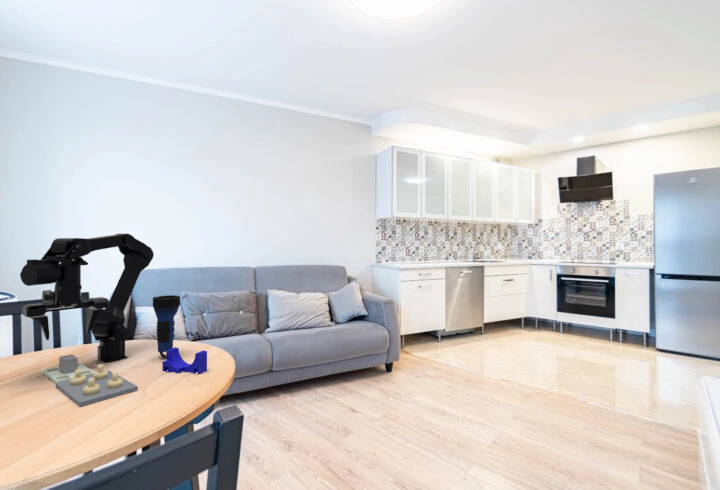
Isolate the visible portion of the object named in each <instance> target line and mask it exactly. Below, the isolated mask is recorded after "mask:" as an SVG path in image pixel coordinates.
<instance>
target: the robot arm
mask: <svg viewBox="0 0 720 490" xmlns="http://www.w3.org/2000/svg"><path fill="white" fill-rule="evenodd" d="M111 248H118V252H120V253H121V254H122V255H123V256H124V257H123V266H124V268H123V271H122V273H121V275H120V277H119V279H118V280H117V284H116V286H115V288H114V289H113V291H112V295H111V297H110V299H108V298H107V297H102V296H97V297H88V299H87V300H85V301H83V300H82V294H81V293H82V288H83V287H82V281H81V280H82V277H81V273H82V270H81V268H82V267H81V266H88V265H89V263H88V262H87V261H86V260H85V259H83V257H84V256H88V255H89V254H90V253H92V252H95V251H99V250H105V249H111ZM154 256H155V255H154V252H153V249H152V248H151V247H150V246H149V245H147V244H146V243H144V242H142V241H140V240H139V239H137V238H135V237H134V236H133V235H131V234H130V233H116V234H112V235H103V236H98V237H89V238H79V237H78V238H77V237H64V238H63V237H62V238H61V237H59V238H55V239H53V240H52V242H51V245H50V247H49V248H48V250H47V251H46V252H45V253H44V255H43V256H42V258H41V259H26V264H25V265H24V266H23V267H22V269H21V271H20V273H19V276H20V280H21V281H22V283H23V285H25V286H27V287H31V286H41V285H51V284H54V290H53V291H52V290H51V289H48V290H43V291H42V292H41V293H42V295H41V300H42V302H37V303H29V304H24V305H23V306H22V309H21V311H22V313H21V315H22V316H24V317H25V318H29V319H31V320H35V321H36V322H37V324H38V325H39V326H40V329H41V331H42V334H43V336H44V338H45V340H46V341H49V340H50V327H49V316H48V315H46V313H47V312H48V313H50V312H59V311H67V310H74V309H75V310H76V309H82V308H83V309H84V308H85V309H86V314H87V316H86V325H85V326H86V327H85V330H86V331H85V332H86V334H88V335H89V334H90V333H92V336H93V337H94V340H95V342H96V341H97V342H99V345H97V360H98V361H100V362H103V363H110V362H113V361H119V360H123V359H127V358H128V356H127V355H126V340H129V339H130V336H131V331H130V330H129V329H127V327H126V326H125V322H126V317H125V310H126V307H127V304H128V302H129V299H130V297H131V296H132V293H133V291H134V289H135V286H136V283H137V282H138V279H139V276H140V274H141V272H142V271H144V270H145V269H146V268H147V267H148V266H150V263H151V262H152V260H153V258H154ZM45 303H50V304H47V305H46V304H45ZM90 331H91V332H90Z"/></svg>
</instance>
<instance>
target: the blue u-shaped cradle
mask: <svg viewBox="0 0 720 490" xmlns="http://www.w3.org/2000/svg"><path fill="white" fill-rule="evenodd" d="M179 350H180V349H179V347H175V346H173V348H171V349H168V350H167V352H166V355H167V358H166V360H164V361H162V368H161V369H162V372H163V371H167V370H168V371H167V372H166V373H171V372H175V373H174V374H178V373H179V374H181V373H183V372H182V371H185V372H184V373H187V372H191V373H190V374H194V373H196V372H198V373H197V374H196V375H200V374H203V373H205V372H207V371H208V351H207V350H200V351H199V352H196V353H195V354H194V355H195V356H194V359H193V361H192V363H187V362H186V361H185V360H184V359H183V357H181V354H180V351H179ZM180 372H181V373H180Z"/></svg>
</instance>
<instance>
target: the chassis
mask: <svg viewBox="0 0 720 490" xmlns="http://www.w3.org/2000/svg"><path fill="white" fill-rule="evenodd" d="M55 388H56V389H58V390H59V391H60V392H61V393H63V395H64V396H66V397H67V398H69V399H70V400H71V401H72V402H74V404H76V405H77V406H79V408H82V407H84V406H89V405H92V404H94V403H95V404H96V403H99V402H102V401H105V400H108V399H113V398H115V397H116V398H117V397H120V396H124V395H125V394H126V395H127V394H130V393H134V392H137V391H138V390H139V389H138V388H139V386H138V385H136V384H135V383H132V382H130V381H128V379H125V378H123V377H121V376H119V372H118V371H114V372H112V371H111V370H106V369H104V363H101V364H98V365H97V371H94V373H93V375H89V376H85V375H81V369H77V370H75V377H72V378H70V380H68V381H64V382H59V383H55Z"/></svg>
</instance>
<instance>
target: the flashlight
mask: <svg viewBox="0 0 720 490" xmlns="http://www.w3.org/2000/svg"><path fill="white" fill-rule="evenodd" d="M180 305H181V296H180V295H174V294H172V295H170V294H169V295H159V296H154V297H152V307H153V311H154V314H155V316H156V319H157V321H156V342H157V352H158V353H159V355H160V356H161V357H162V358H163V359H167V354H166V355H165V354H164V353H167V350H168V349H171V348H174V339H175V325H176V324H175V316H176V314H177V313H178V311H179V308H180Z"/></svg>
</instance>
